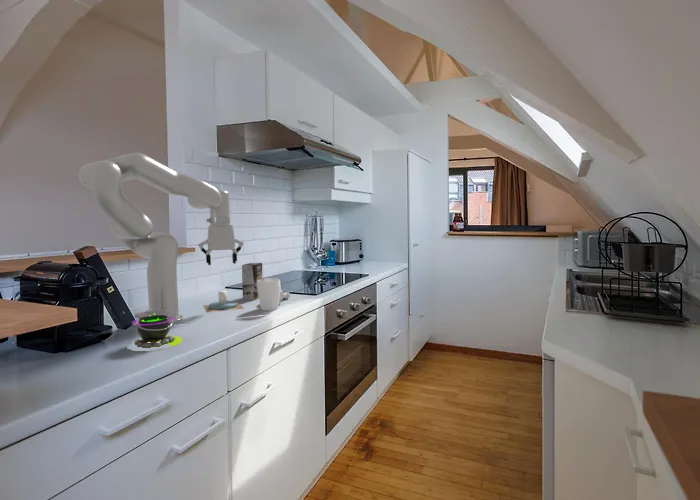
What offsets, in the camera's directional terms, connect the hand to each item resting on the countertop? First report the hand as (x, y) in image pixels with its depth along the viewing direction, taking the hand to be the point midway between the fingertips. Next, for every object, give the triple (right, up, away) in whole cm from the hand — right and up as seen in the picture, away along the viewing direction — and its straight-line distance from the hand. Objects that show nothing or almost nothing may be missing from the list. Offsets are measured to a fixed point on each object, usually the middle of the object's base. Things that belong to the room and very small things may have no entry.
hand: (221, 264), depth 163 cm
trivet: (0, -18, +1) cm, 18 cm away
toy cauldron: (-6, -22, -44) cm, 50 cm away
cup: (+20, -18, -2) cm, 27 cm away
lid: (0, -17, +1) cm, 18 cm away
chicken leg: (+20, -17, +12) cm, 29 cm away
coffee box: (+8, -17, +20) cm, 27 cm away
